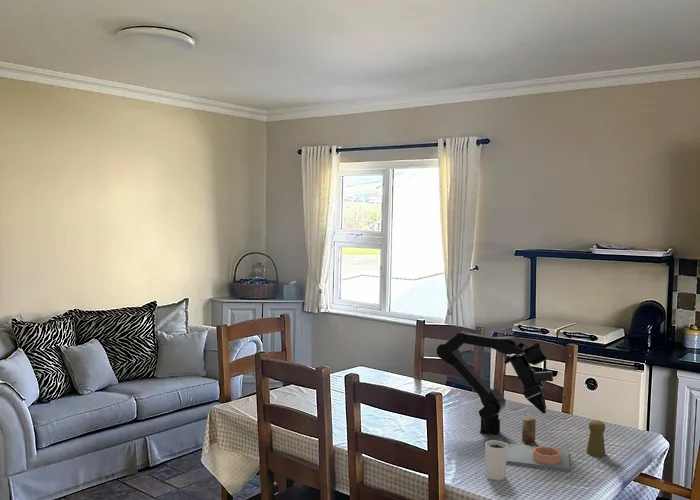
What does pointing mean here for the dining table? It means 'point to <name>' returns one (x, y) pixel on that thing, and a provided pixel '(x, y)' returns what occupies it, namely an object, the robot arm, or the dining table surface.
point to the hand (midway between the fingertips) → (545, 411)
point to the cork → (596, 439)
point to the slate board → (525, 458)
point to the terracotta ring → (546, 455)
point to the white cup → (496, 459)
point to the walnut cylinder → (528, 430)
